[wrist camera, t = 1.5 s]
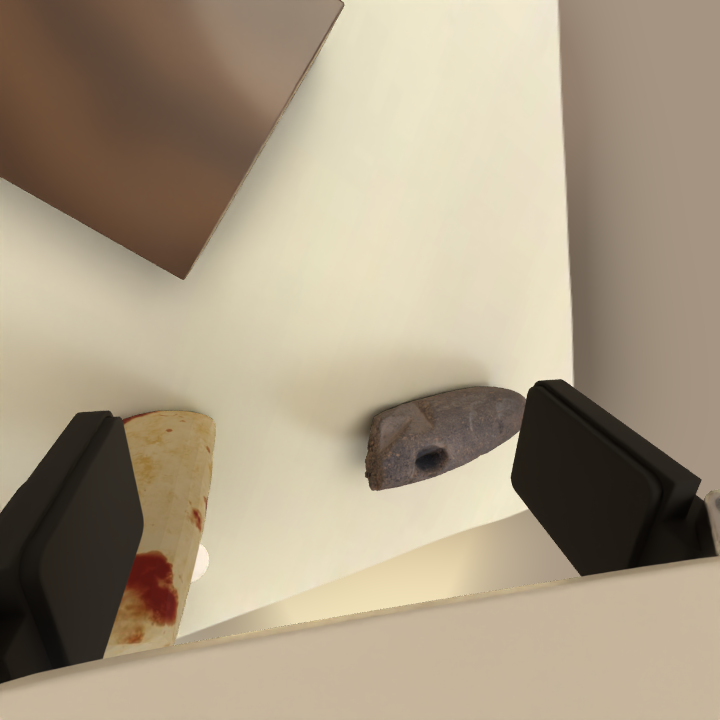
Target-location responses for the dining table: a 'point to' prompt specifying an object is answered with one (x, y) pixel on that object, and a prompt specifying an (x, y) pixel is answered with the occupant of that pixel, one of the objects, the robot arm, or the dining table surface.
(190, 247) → the cabinet
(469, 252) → the dining table surface
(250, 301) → the dining table surface
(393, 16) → the dining table surface
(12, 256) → the dining table surface
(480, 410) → the perforated stone tool
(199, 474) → the food model
